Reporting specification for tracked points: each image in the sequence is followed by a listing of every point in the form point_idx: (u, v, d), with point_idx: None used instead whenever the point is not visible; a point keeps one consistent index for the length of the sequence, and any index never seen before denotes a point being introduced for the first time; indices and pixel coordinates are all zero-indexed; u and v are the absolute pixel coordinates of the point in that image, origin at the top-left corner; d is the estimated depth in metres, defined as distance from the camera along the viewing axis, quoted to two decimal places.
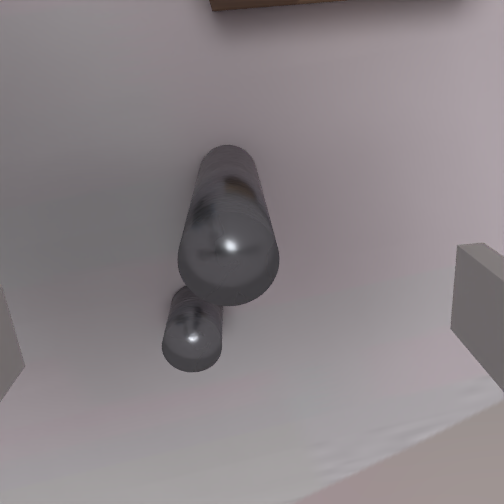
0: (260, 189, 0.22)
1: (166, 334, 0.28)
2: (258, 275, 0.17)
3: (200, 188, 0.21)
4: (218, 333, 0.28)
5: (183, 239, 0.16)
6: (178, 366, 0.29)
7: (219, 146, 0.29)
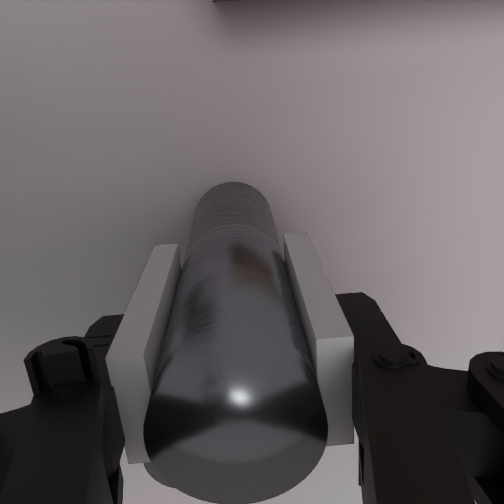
0: (282, 263, 0.15)
1: None
2: (290, 457, 0.09)
3: (191, 268, 0.13)
4: None
5: (153, 401, 0.09)
6: (165, 482, 0.21)
7: (221, 184, 0.21)
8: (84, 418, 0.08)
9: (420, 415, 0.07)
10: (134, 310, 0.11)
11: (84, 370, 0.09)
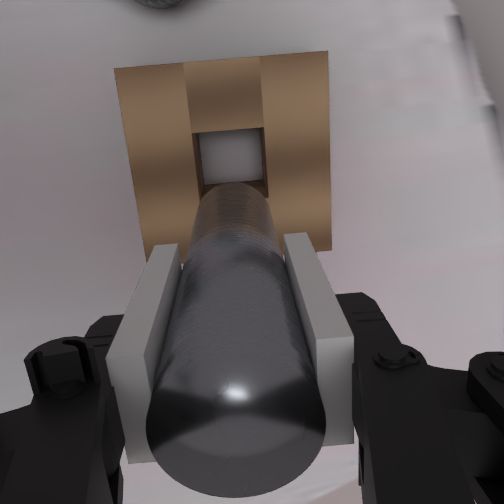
0: (282, 262, 0.15)
1: None
2: (288, 451, 0.10)
3: (192, 267, 0.14)
4: None
5: (155, 396, 0.09)
6: None
7: (222, 184, 0.22)
8: (84, 418, 0.08)
9: (420, 415, 0.07)
10: (134, 310, 0.11)
11: (84, 370, 0.09)
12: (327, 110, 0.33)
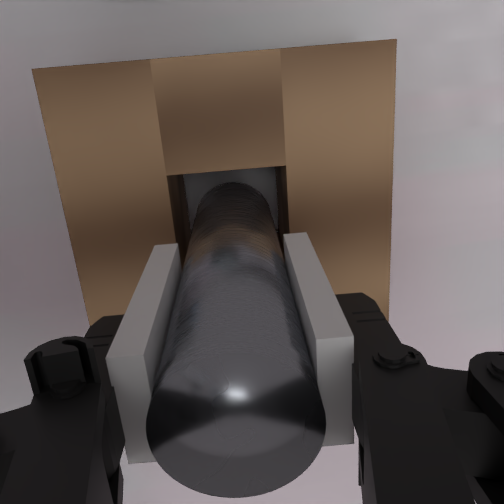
0: (282, 262, 0.15)
1: None
2: (288, 451, 0.10)
3: (192, 267, 0.14)
4: None
5: (155, 396, 0.09)
6: None
7: (222, 184, 0.22)
8: (84, 418, 0.08)
9: (420, 415, 0.07)
10: (134, 310, 0.11)
11: (84, 370, 0.09)
12: (391, 138, 0.20)
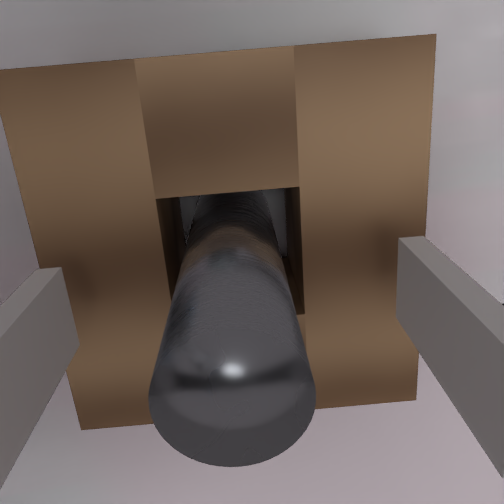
0: (277, 252, 0.16)
1: None
2: (281, 422, 0.10)
3: (192, 255, 0.14)
4: None
5: (157, 369, 0.10)
6: None
7: None
8: None
9: None
10: None
11: None
12: (426, 154, 0.16)
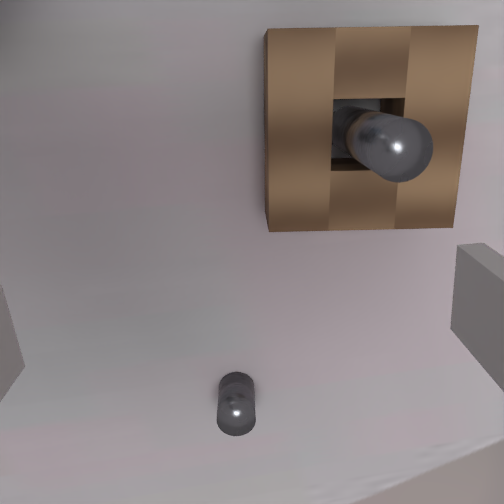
0: None
1: (220, 411, 0.43)
2: (418, 162, 0.27)
3: (361, 118, 0.31)
4: (254, 412, 0.43)
5: (376, 134, 0.26)
6: (226, 431, 0.44)
7: (345, 106, 0.39)
8: None
9: None
10: None
11: None
12: (469, 85, 0.33)
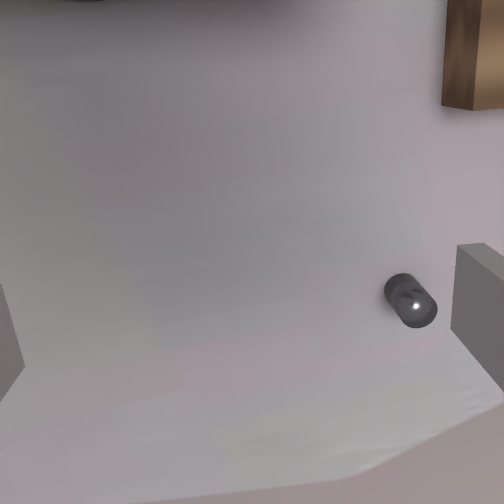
0: None
1: (404, 303, 0.44)
2: None
3: None
4: (435, 303, 0.45)
5: None
6: (408, 324, 0.45)
7: None
8: None
9: None
10: None
11: None
12: None
